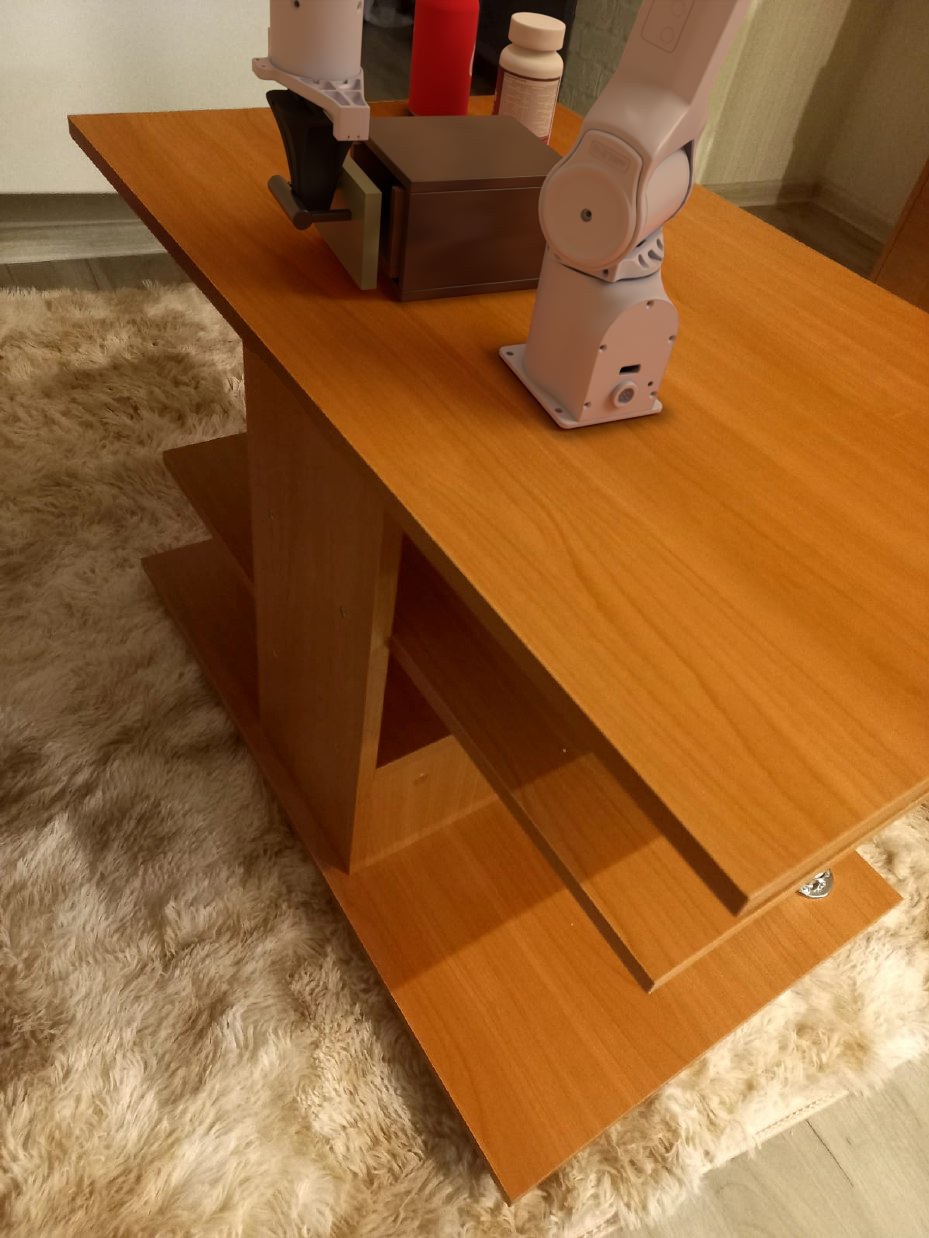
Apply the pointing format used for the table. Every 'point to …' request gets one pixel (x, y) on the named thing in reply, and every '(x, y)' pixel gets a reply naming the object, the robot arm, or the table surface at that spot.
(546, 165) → the cabinet
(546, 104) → the pill bottle
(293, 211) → the drawer
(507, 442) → the table surface
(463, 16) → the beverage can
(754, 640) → the table surface
